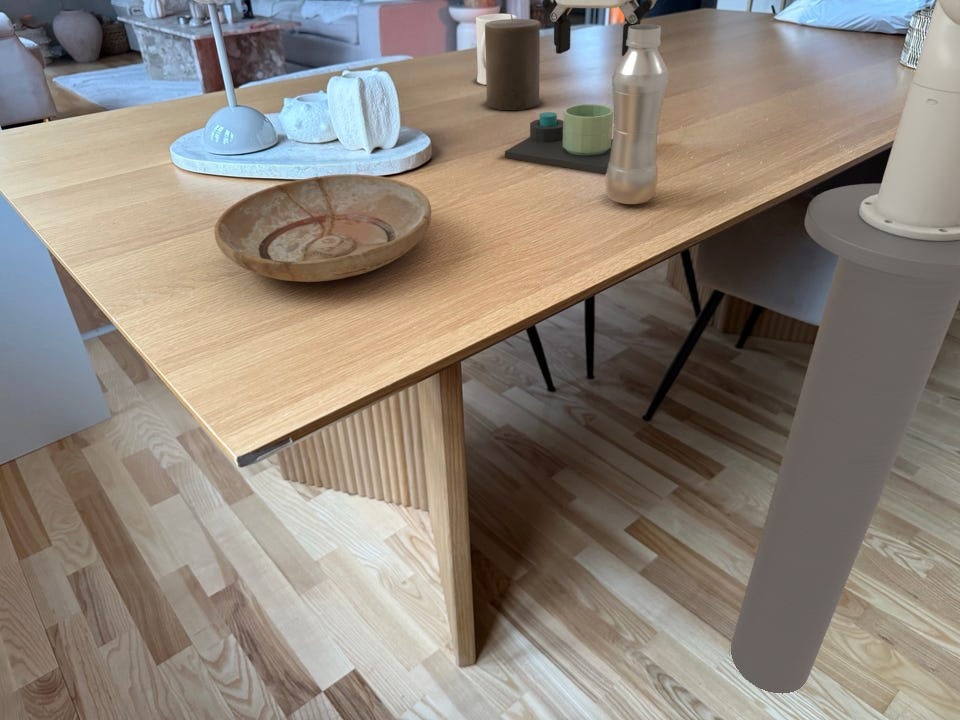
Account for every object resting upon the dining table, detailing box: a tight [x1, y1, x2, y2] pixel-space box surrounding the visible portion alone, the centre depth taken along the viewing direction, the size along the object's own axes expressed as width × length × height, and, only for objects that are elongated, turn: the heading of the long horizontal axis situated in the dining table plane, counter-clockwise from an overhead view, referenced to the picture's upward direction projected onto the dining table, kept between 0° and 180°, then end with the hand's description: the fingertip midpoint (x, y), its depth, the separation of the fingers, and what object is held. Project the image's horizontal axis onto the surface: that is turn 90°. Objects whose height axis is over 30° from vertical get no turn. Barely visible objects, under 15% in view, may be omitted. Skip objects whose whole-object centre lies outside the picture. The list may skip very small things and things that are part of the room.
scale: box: [504, 118, 613, 175], centre depth 103 cm, size 16×12×3 cm
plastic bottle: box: [604, 23, 669, 205], centre depth 83 cm, size 6×7×20 cm
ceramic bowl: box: [213, 173, 432, 283], centre depth 77 cm, size 23×24×5 cm
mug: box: [475, 13, 518, 86], centre depth 140 cm, size 12×8×12 cm
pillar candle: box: [485, 14, 541, 111], centre depth 124 cm, size 10×10×15 cm
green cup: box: [562, 103, 614, 156], centre depth 101 cm, size 7×7×6 cm
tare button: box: [539, 111, 558, 127], centre depth 107 cm, size 3×3×2 cm
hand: (595, 53), depth 95 cm, fingers open, 9 cm apart
